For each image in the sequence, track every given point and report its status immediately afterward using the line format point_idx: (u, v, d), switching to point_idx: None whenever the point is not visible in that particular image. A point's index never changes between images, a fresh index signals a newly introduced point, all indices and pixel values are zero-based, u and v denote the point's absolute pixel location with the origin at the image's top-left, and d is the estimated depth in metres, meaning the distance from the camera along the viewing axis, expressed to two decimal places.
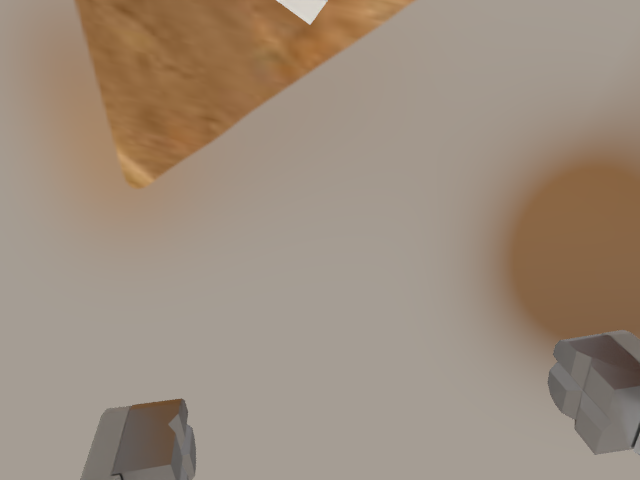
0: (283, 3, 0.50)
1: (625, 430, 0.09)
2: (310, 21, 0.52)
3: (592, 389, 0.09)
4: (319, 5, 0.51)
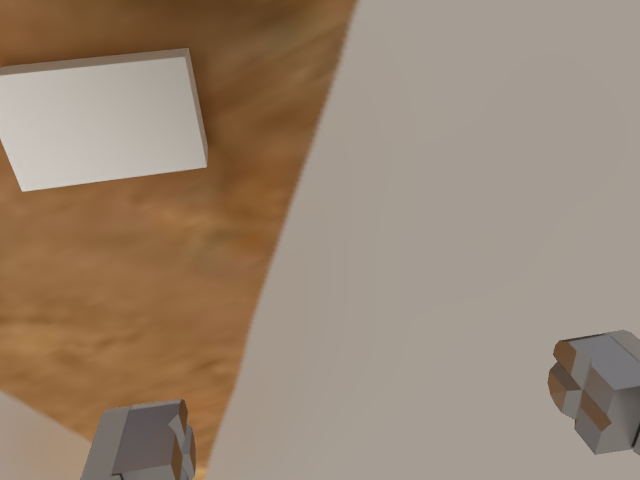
0: (139, 173, 0.27)
1: (625, 430, 0.09)
2: (202, 162, 0.27)
3: (592, 388, 0.09)
4: (191, 130, 0.26)
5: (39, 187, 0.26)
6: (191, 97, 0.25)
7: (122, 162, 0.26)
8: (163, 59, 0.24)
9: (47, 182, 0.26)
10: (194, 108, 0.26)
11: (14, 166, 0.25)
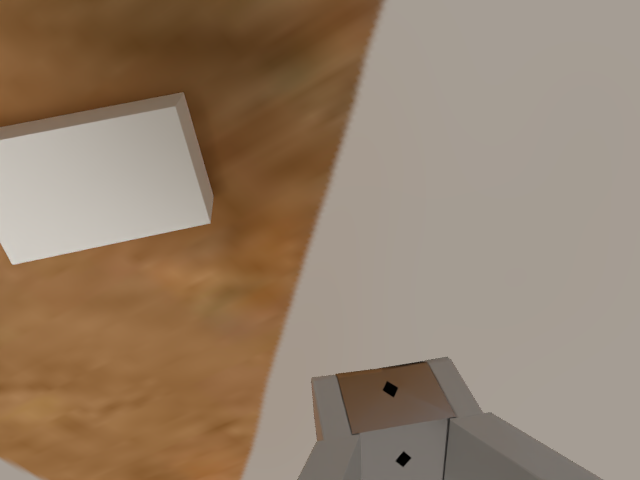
0: (137, 235, 0.24)
1: (429, 465, 0.09)
2: (204, 218, 0.24)
3: None
4: (190, 185, 0.23)
5: (30, 259, 0.24)
6: (186, 149, 0.23)
7: (117, 225, 0.24)
8: (152, 111, 0.22)
9: (38, 252, 0.24)
10: (191, 161, 0.23)
11: (1, 239, 0.23)
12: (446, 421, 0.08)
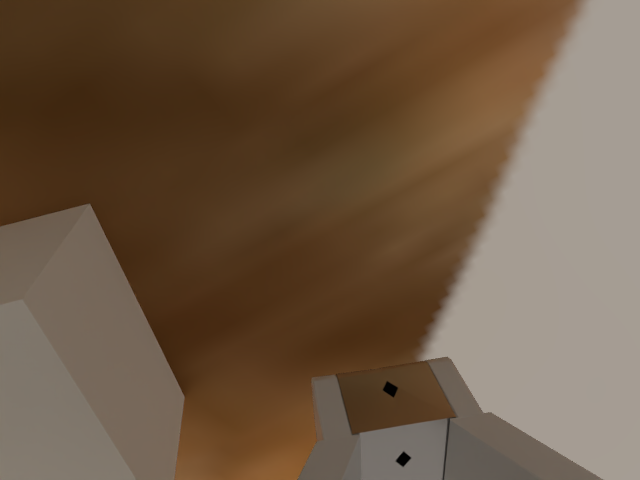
0: None
1: (429, 465, 0.09)
2: None
3: None
4: (102, 467, 0.09)
5: None
6: (79, 397, 0.08)
7: None
8: None
9: None
10: (97, 418, 0.08)
11: None
12: (446, 421, 0.08)
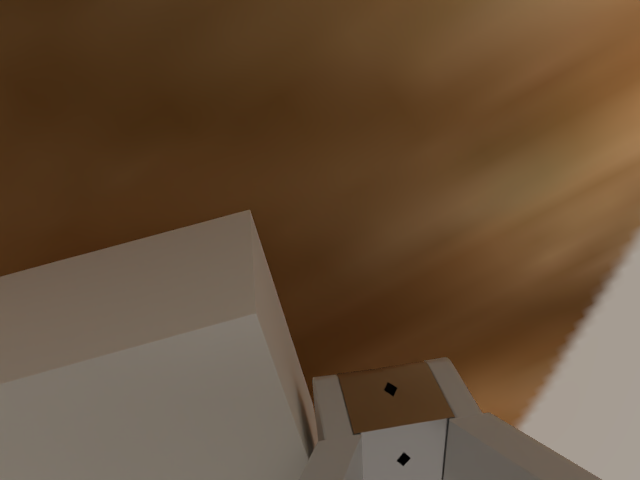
0: None
1: (429, 465, 0.09)
2: None
3: None
4: None
5: None
6: (286, 413, 0.08)
7: None
8: (183, 333, 0.07)
9: None
10: (297, 434, 0.08)
11: None
12: (445, 421, 0.08)
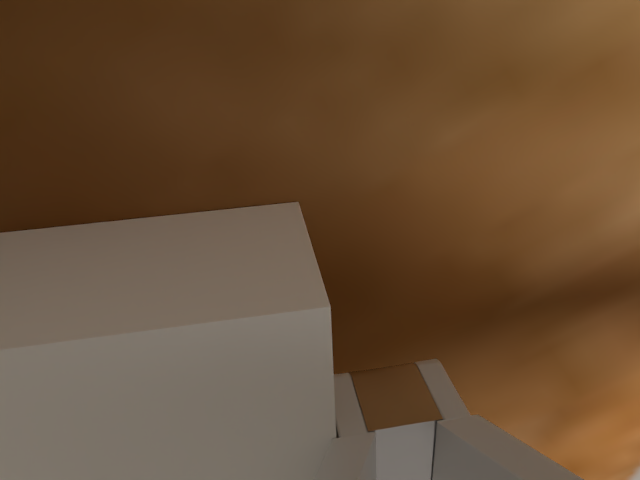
0: None
1: (417, 467, 0.09)
2: None
3: None
4: None
5: None
6: (330, 409, 0.08)
7: None
8: (256, 316, 0.07)
9: None
10: (333, 432, 0.08)
11: None
12: (433, 423, 0.08)
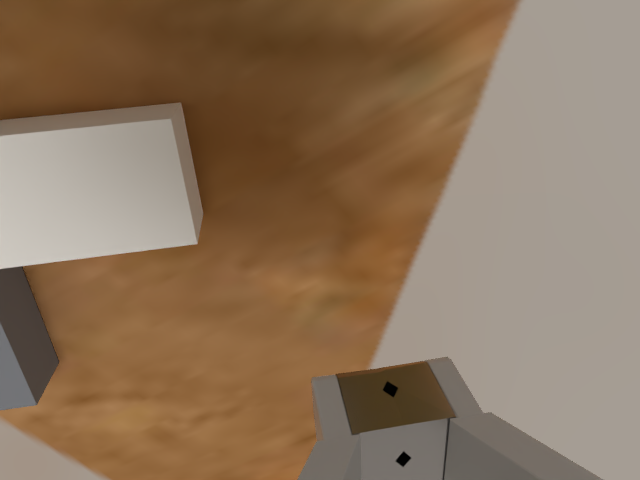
0: (117, 250, 0.22)
1: (429, 465, 0.09)
2: (191, 238, 0.23)
3: None
4: (179, 202, 0.22)
5: None
6: (179, 165, 0.21)
7: (96, 238, 0.22)
8: (145, 121, 0.20)
9: (7, 260, 0.22)
10: (182, 177, 0.21)
11: None
12: (446, 421, 0.08)
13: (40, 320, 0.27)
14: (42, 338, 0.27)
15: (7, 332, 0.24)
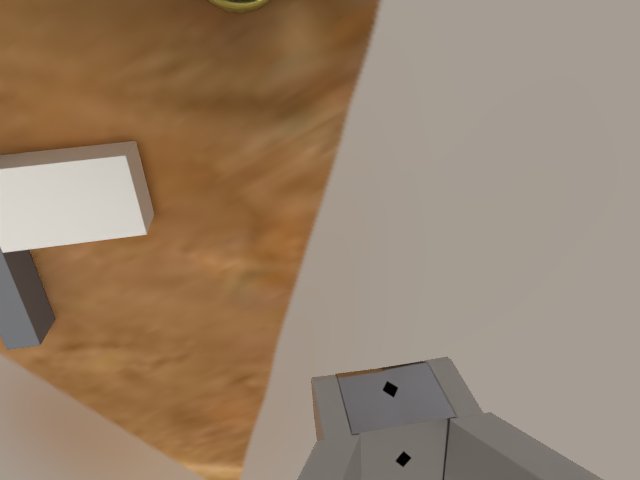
0: (93, 239, 0.34)
1: (429, 465, 0.09)
2: (142, 230, 0.35)
3: None
4: (133, 207, 0.34)
5: (16, 249, 0.34)
6: (132, 184, 0.33)
7: (80, 231, 0.34)
8: (109, 157, 0.32)
9: (22, 245, 0.34)
10: (134, 191, 0.33)
11: None
12: (446, 421, 0.08)
13: (42, 288, 0.39)
14: (43, 301, 0.39)
15: (20, 293, 0.36)
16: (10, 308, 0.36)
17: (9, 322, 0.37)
